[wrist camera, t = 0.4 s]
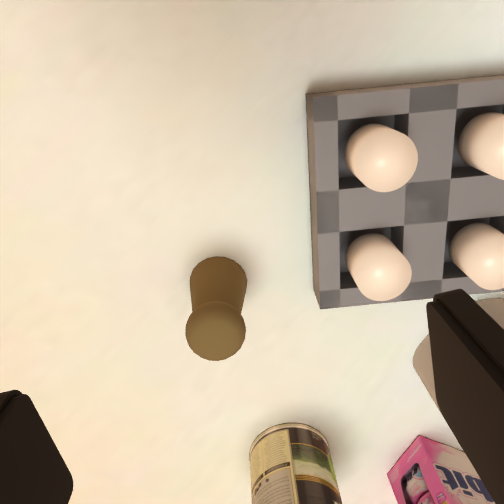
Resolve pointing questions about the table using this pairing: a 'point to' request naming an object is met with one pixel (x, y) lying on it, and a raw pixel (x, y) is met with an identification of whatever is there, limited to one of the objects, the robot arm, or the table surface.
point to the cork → (216, 308)
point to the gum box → (436, 476)
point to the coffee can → (292, 467)
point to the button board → (406, 197)
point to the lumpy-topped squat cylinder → (422, 360)
